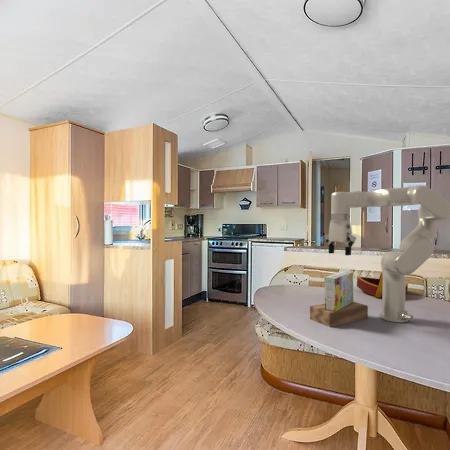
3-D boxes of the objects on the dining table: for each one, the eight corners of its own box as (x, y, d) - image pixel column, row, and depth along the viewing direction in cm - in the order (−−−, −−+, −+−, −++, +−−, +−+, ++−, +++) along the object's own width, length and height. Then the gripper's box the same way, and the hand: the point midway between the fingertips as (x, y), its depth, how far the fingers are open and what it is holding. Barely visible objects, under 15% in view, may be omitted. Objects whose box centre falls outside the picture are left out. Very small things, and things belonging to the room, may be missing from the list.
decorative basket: (405, 306, 175) (410, 280, 174) (351, 292, 190) (355, 268, 189) (406, 295, 204) (410, 273, 203) (359, 283, 219) (363, 263, 218)
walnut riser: (367, 318, 147) (367, 305, 147) (329, 326, 135) (329, 313, 135) (346, 311, 157) (347, 299, 157) (310, 319, 146) (310, 306, 145)
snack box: (342, 300, 156) (342, 270, 155) (353, 302, 152) (354, 272, 152) (323, 309, 140) (324, 276, 140) (335, 312, 136) (336, 278, 136)
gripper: (360, 218, 141) (360, 255, 141) (330, 218, 156) (330, 252, 156) (349, 218, 137) (349, 256, 137) (320, 218, 152) (319, 253, 152)
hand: (339, 254), depth 147 cm, fingers open, 9 cm apart
